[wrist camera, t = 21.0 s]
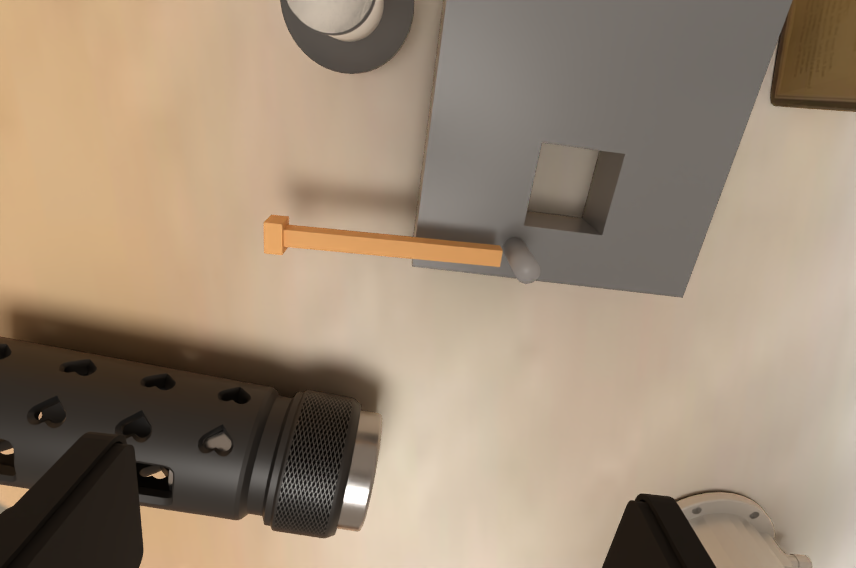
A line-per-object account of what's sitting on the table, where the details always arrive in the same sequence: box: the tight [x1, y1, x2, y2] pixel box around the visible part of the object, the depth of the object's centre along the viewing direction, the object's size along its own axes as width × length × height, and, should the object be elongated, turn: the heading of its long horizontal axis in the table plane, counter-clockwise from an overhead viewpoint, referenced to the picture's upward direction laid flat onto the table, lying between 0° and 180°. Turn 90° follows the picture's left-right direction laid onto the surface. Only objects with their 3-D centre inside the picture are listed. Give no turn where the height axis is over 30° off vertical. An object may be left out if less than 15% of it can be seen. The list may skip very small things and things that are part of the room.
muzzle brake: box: [0, 337, 382, 538], centre depth 35 cm, size 10×28×10 cm, turn 76°
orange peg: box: [264, 215, 503, 267], centre depth 29 cm, size 2×14×2 cm, turn 83°
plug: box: [280, 0, 414, 74], centre depth 24 cm, size 7×7×11 cm
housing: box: [412, 0, 793, 298], centre depth 28 cm, size 18×18×8 cm
